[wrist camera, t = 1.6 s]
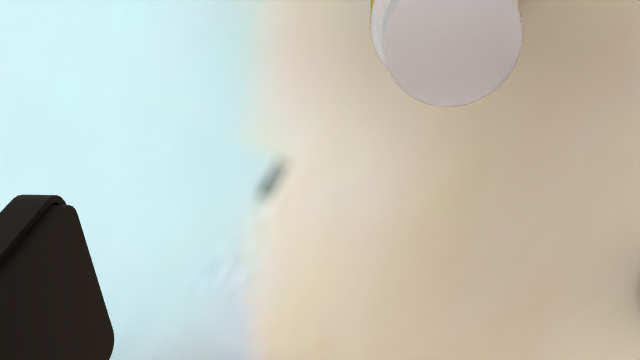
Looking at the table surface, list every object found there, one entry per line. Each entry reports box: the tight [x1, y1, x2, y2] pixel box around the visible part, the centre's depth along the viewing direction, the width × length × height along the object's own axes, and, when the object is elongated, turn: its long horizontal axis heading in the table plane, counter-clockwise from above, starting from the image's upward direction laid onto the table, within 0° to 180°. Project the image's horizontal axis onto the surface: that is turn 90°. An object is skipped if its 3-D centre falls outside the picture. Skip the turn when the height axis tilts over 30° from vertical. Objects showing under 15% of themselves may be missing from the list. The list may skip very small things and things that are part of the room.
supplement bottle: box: [370, 0, 523, 107], centre depth 21 cm, size 5×5×8 cm
